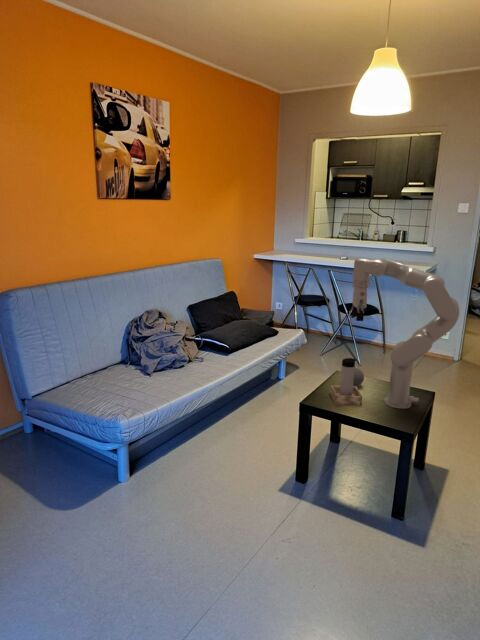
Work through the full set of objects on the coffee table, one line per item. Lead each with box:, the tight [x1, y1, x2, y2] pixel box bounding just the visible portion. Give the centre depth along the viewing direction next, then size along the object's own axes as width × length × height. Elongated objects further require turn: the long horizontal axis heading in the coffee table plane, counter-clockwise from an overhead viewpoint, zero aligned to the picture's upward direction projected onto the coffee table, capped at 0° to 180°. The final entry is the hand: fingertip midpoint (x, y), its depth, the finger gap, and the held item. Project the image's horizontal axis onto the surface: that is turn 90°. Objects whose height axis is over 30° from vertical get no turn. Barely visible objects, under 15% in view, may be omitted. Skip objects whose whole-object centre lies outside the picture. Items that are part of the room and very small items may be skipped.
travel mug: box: [339, 357, 357, 396], centre depth 222 cm, size 6×7×20 cm
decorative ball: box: [353, 367, 365, 387], centre depth 241 cm, size 10×10×10 cm
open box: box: [329, 385, 363, 406], centre depth 224 cm, size 13×13×4 cm
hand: (357, 318), depth 221 cm, fingers open, 9 cm apart
